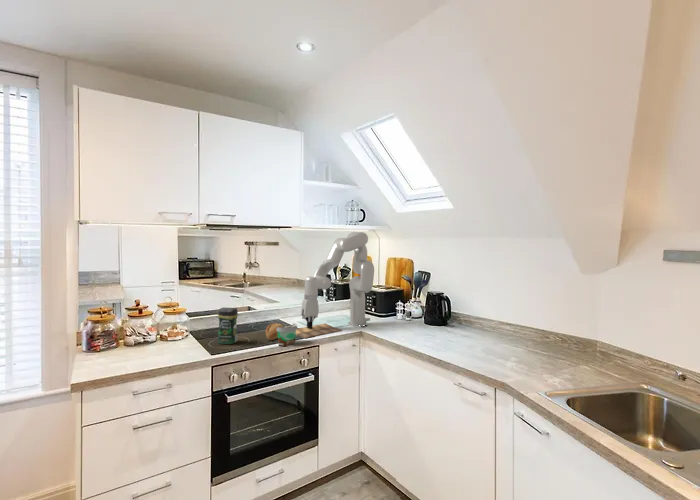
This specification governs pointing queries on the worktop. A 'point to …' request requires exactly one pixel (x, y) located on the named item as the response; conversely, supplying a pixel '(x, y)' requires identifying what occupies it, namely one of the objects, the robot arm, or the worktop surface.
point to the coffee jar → (227, 325)
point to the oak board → (314, 328)
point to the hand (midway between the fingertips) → (309, 328)
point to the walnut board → (319, 332)
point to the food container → (286, 335)
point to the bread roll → (273, 331)
